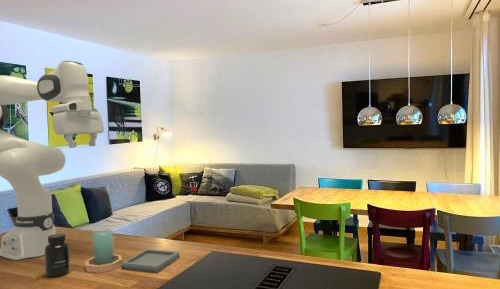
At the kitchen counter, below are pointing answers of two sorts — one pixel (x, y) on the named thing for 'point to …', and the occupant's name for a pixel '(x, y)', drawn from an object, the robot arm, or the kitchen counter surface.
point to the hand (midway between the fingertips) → (83, 146)
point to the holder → (105, 267)
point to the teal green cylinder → (103, 247)
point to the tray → (150, 260)
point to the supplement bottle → (57, 256)
